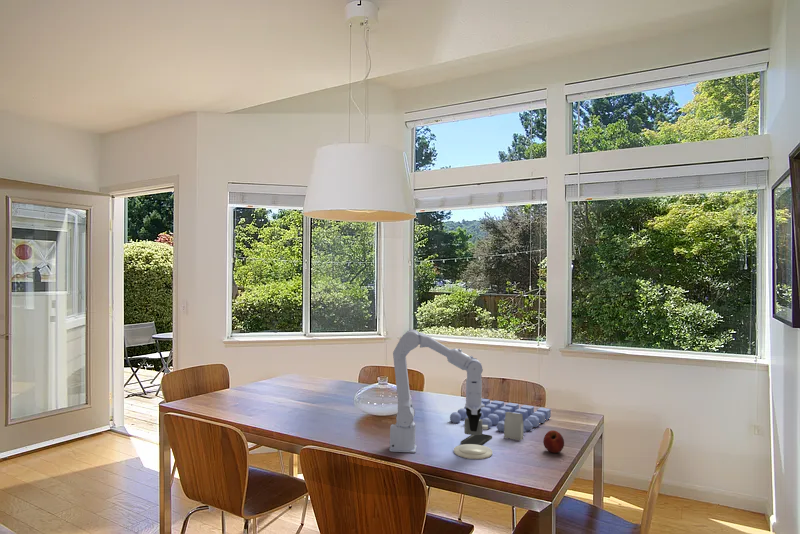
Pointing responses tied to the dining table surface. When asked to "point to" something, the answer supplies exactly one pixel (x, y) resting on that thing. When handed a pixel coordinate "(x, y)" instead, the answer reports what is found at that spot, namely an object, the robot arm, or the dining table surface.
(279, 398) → the dining table surface
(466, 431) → the connector
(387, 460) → the dining table surface
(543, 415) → the blocks
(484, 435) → the phone
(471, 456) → the plate
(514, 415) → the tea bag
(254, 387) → the dining table surface
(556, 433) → the apple
